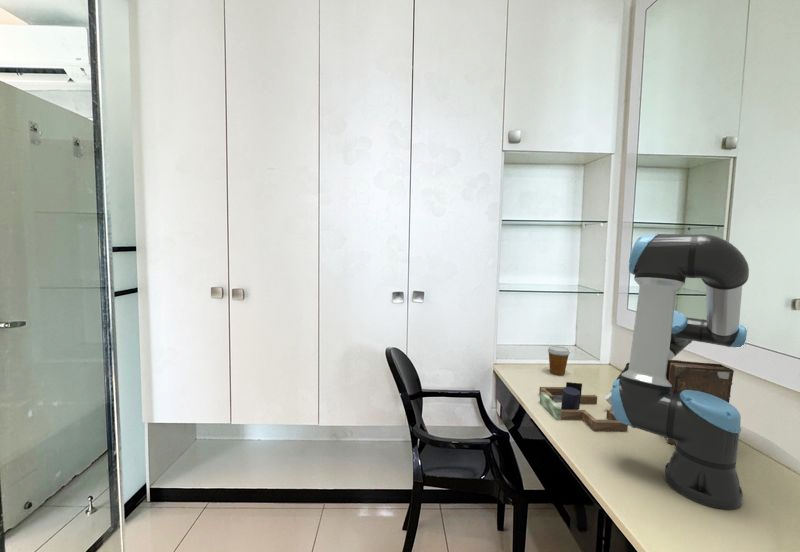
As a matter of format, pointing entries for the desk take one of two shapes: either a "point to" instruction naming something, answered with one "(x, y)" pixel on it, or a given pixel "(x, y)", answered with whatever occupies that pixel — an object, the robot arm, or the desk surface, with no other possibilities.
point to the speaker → (571, 396)
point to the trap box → (555, 395)
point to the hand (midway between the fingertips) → (607, 401)
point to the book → (699, 379)
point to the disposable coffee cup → (558, 359)
